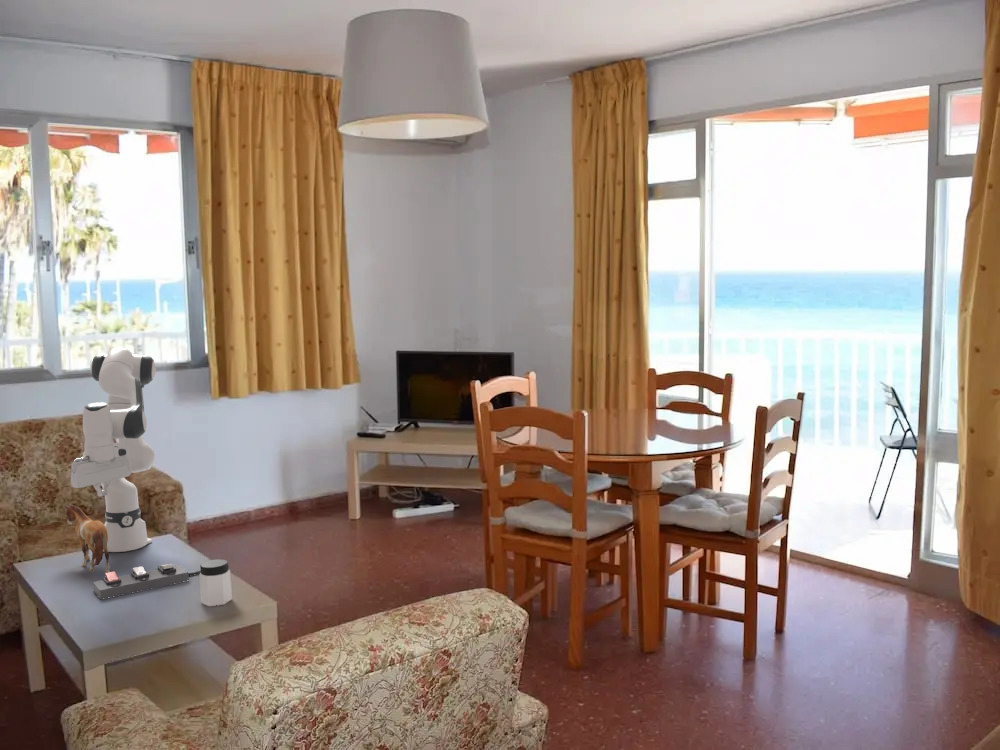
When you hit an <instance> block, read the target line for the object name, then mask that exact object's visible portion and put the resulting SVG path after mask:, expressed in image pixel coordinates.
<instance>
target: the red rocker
mask: <svg viewBox="0 0 1000 750" xmlns="http://www.w3.org/2000/svg"><path fill="white" fill-rule="evenodd" d="M104 573H105V572H104ZM117 576H118V574H117V573H116V572H115V570H114V571H110V572H108V573H105V575H104V577H106V578H107V580H108V582H111V581H116V580H119V579H118V577H119V576H118V577H117Z"/></svg>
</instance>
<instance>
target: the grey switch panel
mask: <svg viewBox="0 0 1000 750" xmlns="http://www.w3.org/2000/svg"><path fill="white" fill-rule="evenodd" d="M145 572H146V575H141V576H136V575H135V573H134V571H133V570H132V571H130V574H126V575H122V576H121V575H120V576H119V575H117V577H118V579H119V580H116V581H111V582H108V580H107V578H106V576H104V577H102V580H96V581H93V582H92V584H93V585H92V586H93V592H94V591H95V592H94V593H95V594H96V596H97V595H98V596H99V597H100V598H99V597H98V596H97V597H98V598H99V600H101V599H102V600H104V599H103V598H107V599H109V598H108V597H112V598H114V597H113V596H116V597H119V596H118V595H121V596H123V595H122V594H126V595H129V594H128V593H130V594H133V593H132V592H135V593H138V592H137V591H140V592H142V591H141V590H145V591H148V590H147V589H149V590H152V589H151V588H154V589H158V588H157V587H159V588H162V587H161V586H163V587H167V586H166V585H168V586H171V585H170V584H173V585H175V584H174V583H177V584H180V583H179V582H182V583H184V582H183V581H187V580H189V581H190V579H189V577H191V576H190V575H193V576H195V575H194V574H198V575H199V573H201V570H197V571H193V572H189V571H187V570H186V568H184V567H183V566H182V565H181V564H177V565H173V568H171V569H167V570H163V569H161V568H160V565H159V566H157V569H152V570H147V571H146V570H145ZM187 582H188V581H187Z"/></svg>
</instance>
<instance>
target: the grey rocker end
mask: <svg viewBox="0 0 1000 750" xmlns="http://www.w3.org/2000/svg"><path fill="white" fill-rule="evenodd" d="M159 566H160V568H161V569H163V570H167V569H171V568H173V566H174V565H173V563H167V564H166V563H165V564H160V565H159Z"/></svg>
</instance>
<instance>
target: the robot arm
mask: <svg viewBox="0 0 1000 750" xmlns="http://www.w3.org/2000/svg"><path fill="white" fill-rule="evenodd" d="M156 367H157V366H156V363H155V360H154V358H153V357H151V356H150V355H149V356H148V355H144V354H143V355H140V354H134V353H132V352H131V351H130V350H128V349H127V348H124V347H116V348H113V349H110V351H109V352H108V353H99V354H96V355H95V356H94V357H93V358H92V361H91V364H90V374H91V376H92V378H93V380H95V381H96V382H98V383H99V386H100V388H101V389H102V391H104V392H105V393H106V394H107V395H108V399H107V402H102V401H98V402H92V403H91V402H90V403H88V404H85V406H84V407H83V413H82V432H83V435H84V444H83V446H84V451H83V453H82V457H77V458H75V459H74V460H73V461H72V462H71V463H70V486H72V488H75V489H76V488H77V489H81V488H82V489H83V488H85V487H90V486H93V488H94V489H95V491H96V493H97V497H100V498H101V497H104V500H105V501H104V502H105V515H104V516H105V518H104V519H105V522H104V525H105V527H106V529H107V534H108V542H107V548H108V550H107V551H108V553H109V552H110V553H121V552H130V551H135V550H138V549H141V548H144V547H146V545H148V544H152V542H153V540H152V538H149V537H148V533H147V524H146V521H145V520H143V519H142V518H141V513H142V512H141V508H140V506H139V505H140V504H139V496H138V494H139V493H138V492H139V491H138V488H137V486H136V485H135V484H134V483H133V482H130V481H129V480H127V479H126V477H127V478H128V477H130V476H131V474H132V473H133V474H134V473H140V472H141V473H142V472H144V471H148V470H150V469H151V468H152V467H153V465H154V463H155V459H156V456H155V451H154V449H153V447H152V446H151V445H150V444H148V443H147V442H146V441H145V440H144V438H143V435H144V434H145V433H146V431H147V423H148V422H147V417H146V415H145V404H144V403H145V402H144V395H143V388H145V385H148V384H150V383H151V382H152V381H153V379H154V378H155V375H156V371H157V368H156ZM115 439H118V442H114V440H115ZM101 487H102V488H101ZM103 553H104V549H103Z"/></svg>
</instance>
